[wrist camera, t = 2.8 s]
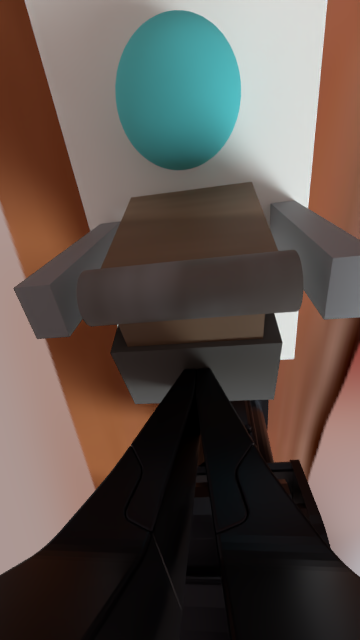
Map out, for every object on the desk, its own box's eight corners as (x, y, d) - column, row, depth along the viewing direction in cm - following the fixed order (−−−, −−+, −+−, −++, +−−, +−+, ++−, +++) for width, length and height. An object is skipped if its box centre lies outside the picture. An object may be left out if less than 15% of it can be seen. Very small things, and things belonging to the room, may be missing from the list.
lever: (255, 281, 15) (282, 398, 10) (149, 290, 16) (127, 404, 11) (259, 172, 11) (307, 273, 6) (122, 191, 12) (69, 294, 7)
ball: (243, 187, 10) (253, 58, 7) (135, 201, 11) (87, 89, 7) (233, 107, 12) (238, -41, 8) (137, 123, 12) (97, -8, 8)
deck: (280, 326, 20) (345, 481, 11) (139, 336, 21) (89, 481, 12) (302, -41, 11) (741, -893, 2) (61, 13, 12) (-334, -350, 3)
